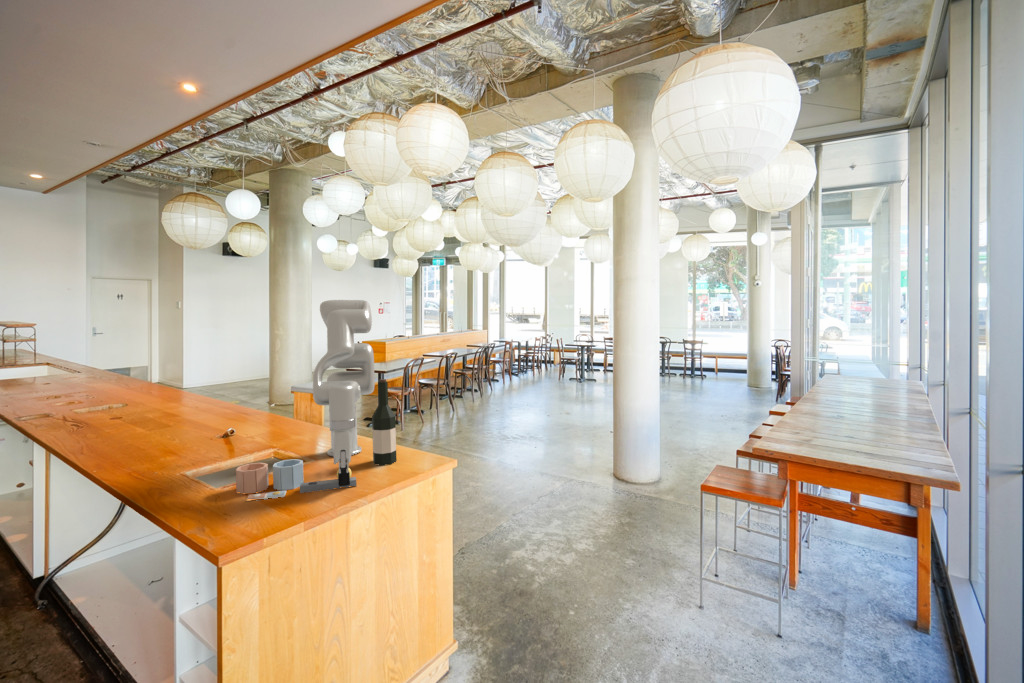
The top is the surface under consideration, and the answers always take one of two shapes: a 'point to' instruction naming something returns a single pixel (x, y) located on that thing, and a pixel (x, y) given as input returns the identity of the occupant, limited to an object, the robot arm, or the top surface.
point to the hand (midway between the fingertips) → (344, 482)
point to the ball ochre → (349, 472)
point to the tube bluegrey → (288, 474)
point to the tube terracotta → (252, 478)
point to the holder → (324, 485)
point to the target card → (267, 495)
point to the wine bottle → (383, 428)
